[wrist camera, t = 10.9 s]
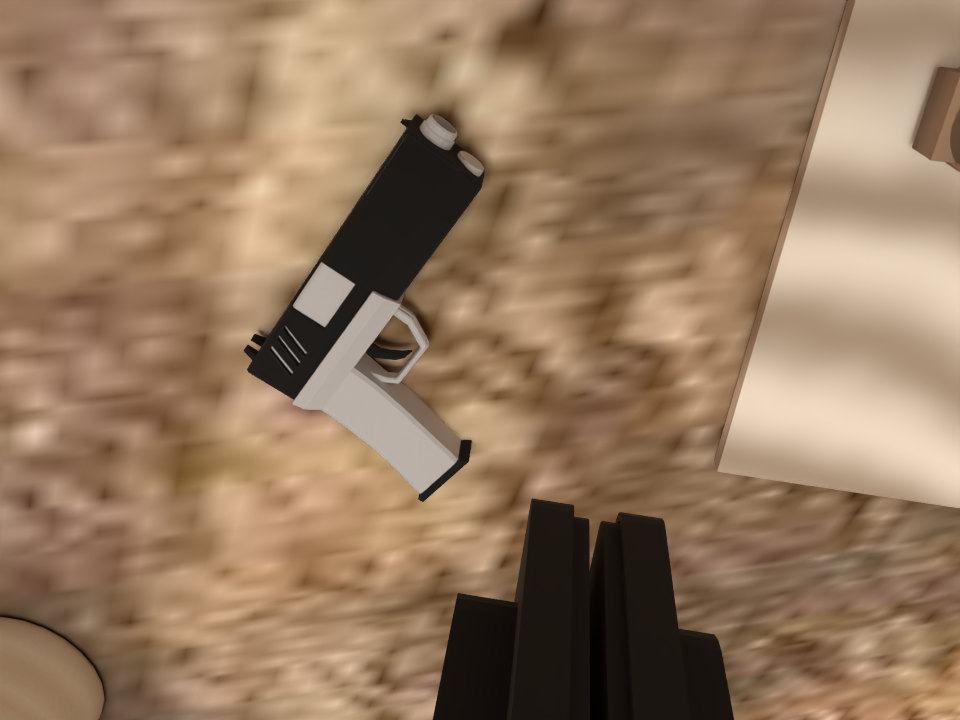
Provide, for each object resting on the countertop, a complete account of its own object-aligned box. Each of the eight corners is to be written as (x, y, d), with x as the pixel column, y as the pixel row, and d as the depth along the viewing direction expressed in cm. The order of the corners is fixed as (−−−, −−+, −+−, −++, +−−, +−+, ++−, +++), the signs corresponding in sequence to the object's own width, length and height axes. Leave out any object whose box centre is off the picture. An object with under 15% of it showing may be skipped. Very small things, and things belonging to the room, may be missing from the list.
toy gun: (639, 278, 35) (403, 106, 32) (428, 511, 42) (219, 387, 39) (632, 250, 38) (414, 90, 35) (435, 473, 45) (241, 354, 42)
